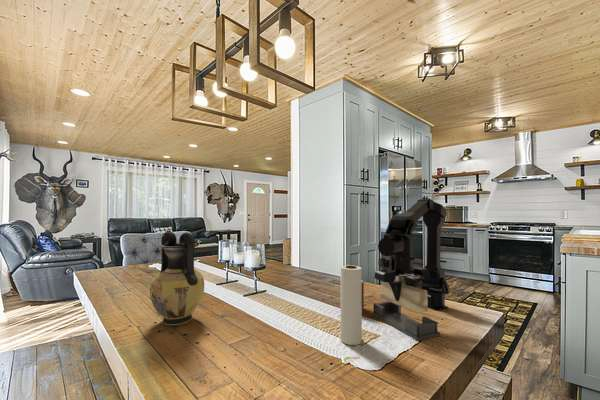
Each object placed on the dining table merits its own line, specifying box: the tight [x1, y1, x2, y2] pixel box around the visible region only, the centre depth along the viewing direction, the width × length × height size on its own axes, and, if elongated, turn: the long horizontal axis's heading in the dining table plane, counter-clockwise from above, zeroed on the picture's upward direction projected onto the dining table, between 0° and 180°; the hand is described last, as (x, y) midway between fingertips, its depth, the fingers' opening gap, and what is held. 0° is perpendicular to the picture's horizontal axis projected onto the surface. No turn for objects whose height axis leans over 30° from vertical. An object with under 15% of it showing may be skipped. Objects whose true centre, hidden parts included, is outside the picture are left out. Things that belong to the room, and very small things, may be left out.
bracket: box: [371, 300, 441, 342], centre depth 94 cm, size 9×22×4 cm, turn 21°
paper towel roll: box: [339, 263, 363, 346], centre depth 83 cm, size 7×6×21 cm
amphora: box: [149, 231, 205, 326], centre depth 96 cm, size 18×17×30 cm
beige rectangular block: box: [380, 281, 429, 313], centre depth 94 cm, size 4×16×6 cm, turn 28°
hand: (402, 300), depth 94 cm, fingers closed on beige rectangular block, 4 cm apart
